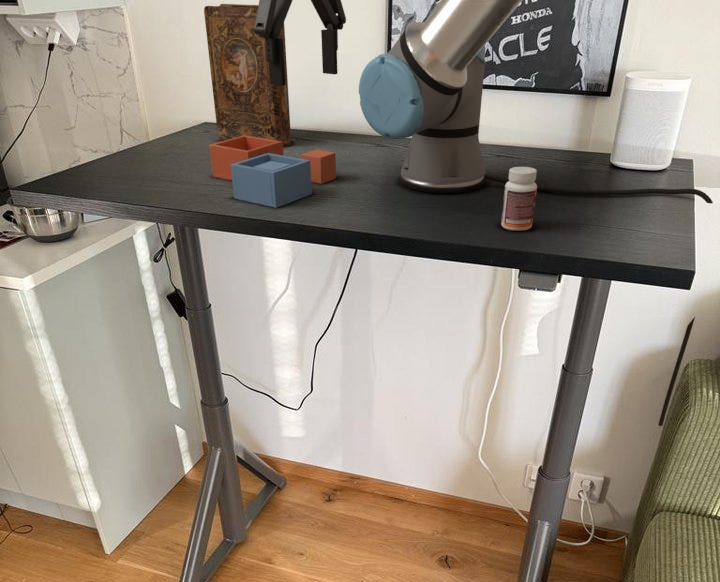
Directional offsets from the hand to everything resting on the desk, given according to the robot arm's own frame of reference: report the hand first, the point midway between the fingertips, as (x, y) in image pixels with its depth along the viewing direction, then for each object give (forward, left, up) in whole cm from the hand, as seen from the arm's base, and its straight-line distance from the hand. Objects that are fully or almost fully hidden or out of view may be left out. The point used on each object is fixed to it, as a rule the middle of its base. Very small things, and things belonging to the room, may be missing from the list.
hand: (304, 79), depth 123 cm
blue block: (0, +10, -16) cm, 19 cm away
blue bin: (0, +10, -17) cm, 20 cm away
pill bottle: (-42, +1, -17) cm, 45 cm away
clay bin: (+13, +2, -17) cm, 21 cm away
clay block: (0, -3, -17) cm, 17 cm away
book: (+30, -19, -17) cm, 39 cm away
